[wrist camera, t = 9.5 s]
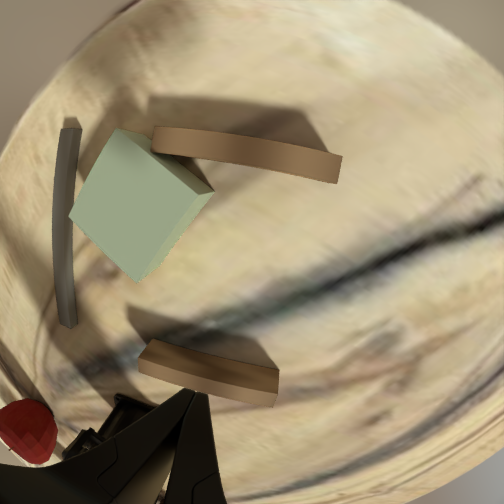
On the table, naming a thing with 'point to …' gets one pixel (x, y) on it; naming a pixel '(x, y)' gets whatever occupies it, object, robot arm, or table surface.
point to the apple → (28, 430)
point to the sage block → (137, 203)
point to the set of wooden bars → (158, 352)
